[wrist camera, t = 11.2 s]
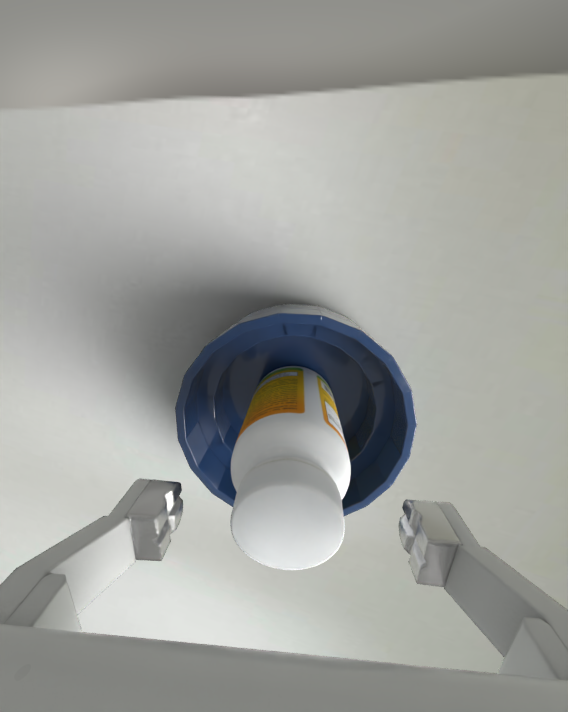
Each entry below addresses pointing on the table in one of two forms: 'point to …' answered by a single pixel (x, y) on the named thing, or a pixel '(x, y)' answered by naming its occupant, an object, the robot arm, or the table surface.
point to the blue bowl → (318, 353)
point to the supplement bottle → (290, 472)
